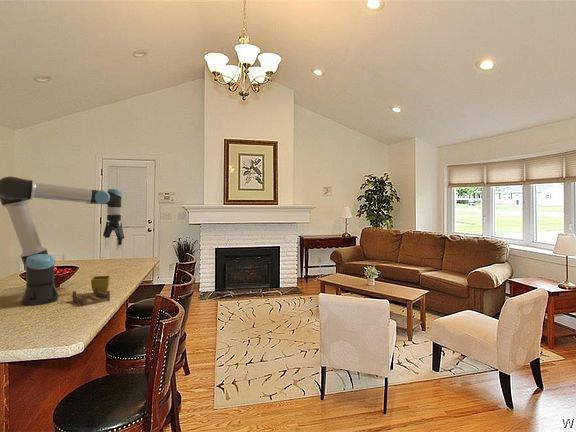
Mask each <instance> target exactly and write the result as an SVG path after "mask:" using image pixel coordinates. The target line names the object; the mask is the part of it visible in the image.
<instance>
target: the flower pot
mask: <svg viewBox="0 0 576 432" xmlns="http://www.w3.org/2000/svg"><path fill="white" fill-rule="evenodd" d="M110 281H111V275H96V276H93V277H91V279H90V283H91V290H92V292H93V295H94V294H96V288H97V287H99V288H100V292H103V293H106V291H108V289H109V286H110V284H111V283H110Z"/></svg>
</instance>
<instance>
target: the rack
mask: <svg viewBox="0 0 576 432" xmlns="http://www.w3.org/2000/svg"><path fill="white" fill-rule="evenodd" d="M110 295H111V290H107V291H106V293H103V292H100V288H99V287H97V288H96V294H94V293H93V294H90V295H87V294H84V295H82V296H78V295H77V291H76V290H74V291H72V302H74V303H75V304H78V303H79V304H78V305H81V306H82V305H83V307H84V306H89V305H95V304H99V303H104V302H109V301H111V296H110ZM89 299H91V300H89Z"/></svg>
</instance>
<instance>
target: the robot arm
mask: <svg viewBox="0 0 576 432" xmlns="http://www.w3.org/2000/svg"><path fill="white" fill-rule="evenodd" d="M122 198H123V197H122V190H121V189H120V188H118V189H117V188H108V189H107V190H106V191H105V190H101V189H100V190H99V189H97V190H96V189H92V188H91V189H90V188H82V187H73V186H67V185H66V186H64V185H58V184H57V185H56V184H49V183H48V184H47V183H39V182H35V181H34V180H31V179H25V178H21V177H16V176H4V177H2V178H1V179H0V204H1V206H2V207H4V208H6V209H7V211H8V215H9V218H10V220H11V222H12V225H13V228H14V231H15V234H16V237H17V239H18V242H19V245H20V248H21V251H22V253H21V254H20V259H21V261H22V264H23V268H24V270H25V274H26V275H25V277H26V279H25V281H26V282H25V284H26V286H25V290H24V292H23V295H22V298H21V304H22V305H26V306H35V305H36V306H37V305H46V304H50V303H53V302H56V301H58V300H59V293H58V290H57V288H56V286H55V257H54V256H53V255H52V254H49V253H48V250H47V248H45V247H43V246H42V245H43V244H42V243H41V240H40V237H39V234H38V231H37V229H36V226H35V223H34V220H33V216H32V213H31V212H30V208H29V206H28V203H29V202H30V200H33V199H42V200H43V199H44V200H53V201H55V200H56V201H66V202H75V203H85V204H88V205H107V207H106V208H107V210H106V213H107V215H106V222H105V227H104V231H103V233H102V234H103V235H102V236H103V237H104V249H110V248H111V235H112V232H114V233H115V237H116V251H122V246H123V243H122V242H123V239H125V234H124V231H123V223H122V222H121V220H122V215H121V214H122Z"/></svg>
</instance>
